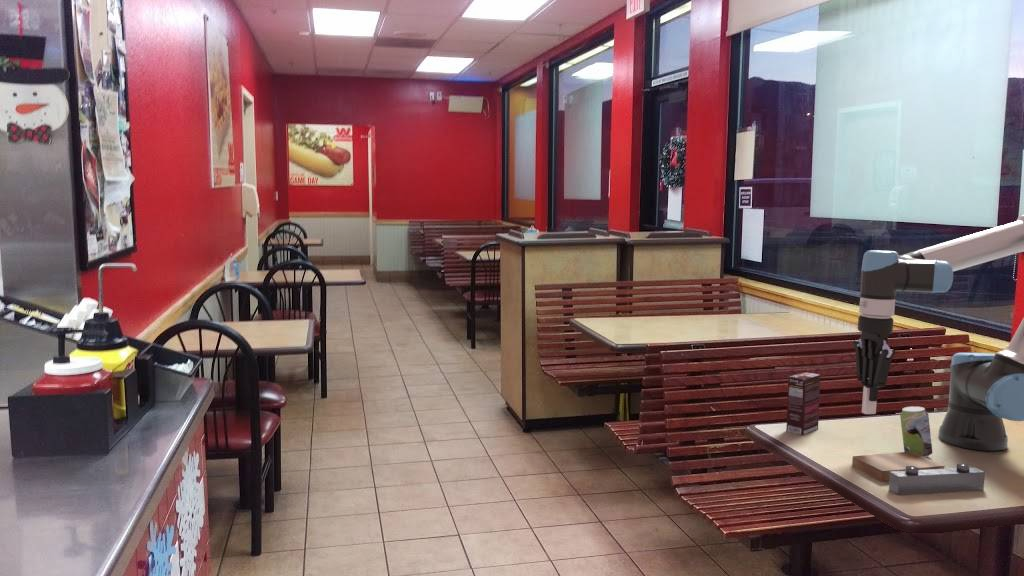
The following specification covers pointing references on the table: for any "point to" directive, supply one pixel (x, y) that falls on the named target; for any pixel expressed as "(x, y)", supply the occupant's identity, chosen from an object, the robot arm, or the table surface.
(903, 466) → the brown wooden board
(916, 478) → the stop bar
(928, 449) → the beverage can
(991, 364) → the robot arm
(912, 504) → the table surface
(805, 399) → the supplement box
